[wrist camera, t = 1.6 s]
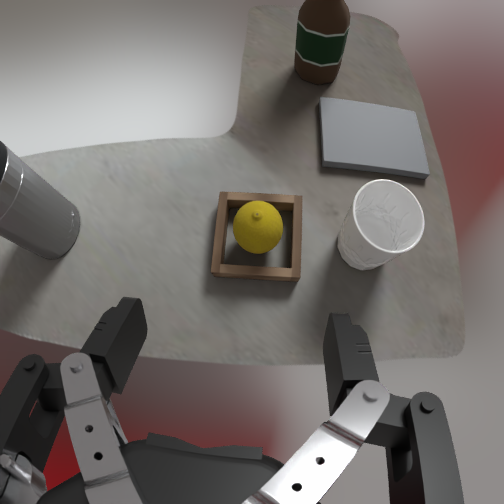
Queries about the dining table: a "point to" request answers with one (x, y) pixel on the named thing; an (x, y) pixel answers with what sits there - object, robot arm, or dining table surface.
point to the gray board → (371, 138)
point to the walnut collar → (257, 272)
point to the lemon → (257, 227)
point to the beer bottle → (321, 39)
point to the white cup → (380, 225)
